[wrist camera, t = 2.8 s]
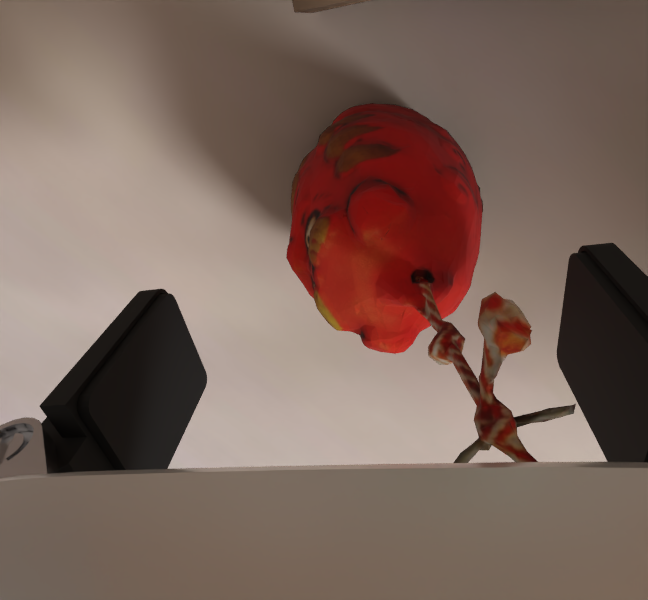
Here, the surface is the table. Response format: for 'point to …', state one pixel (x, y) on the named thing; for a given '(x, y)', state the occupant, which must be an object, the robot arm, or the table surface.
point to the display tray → (321, 4)
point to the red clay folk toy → (404, 251)
